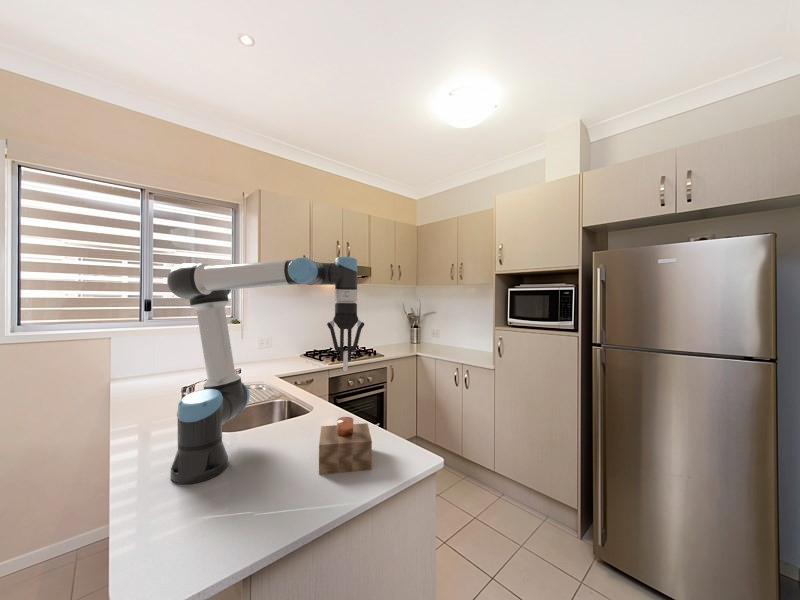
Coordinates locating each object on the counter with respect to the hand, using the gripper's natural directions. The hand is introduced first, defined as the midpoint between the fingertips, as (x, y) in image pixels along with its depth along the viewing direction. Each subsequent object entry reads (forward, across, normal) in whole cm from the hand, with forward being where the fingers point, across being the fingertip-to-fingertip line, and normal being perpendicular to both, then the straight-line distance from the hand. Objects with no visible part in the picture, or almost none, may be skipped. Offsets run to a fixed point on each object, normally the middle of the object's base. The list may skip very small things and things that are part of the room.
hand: (345, 370), depth 111 cm
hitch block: (+28, 0, -6) cm, 29 cm away
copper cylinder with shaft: (+25, 0, -6) cm, 26 cm away
